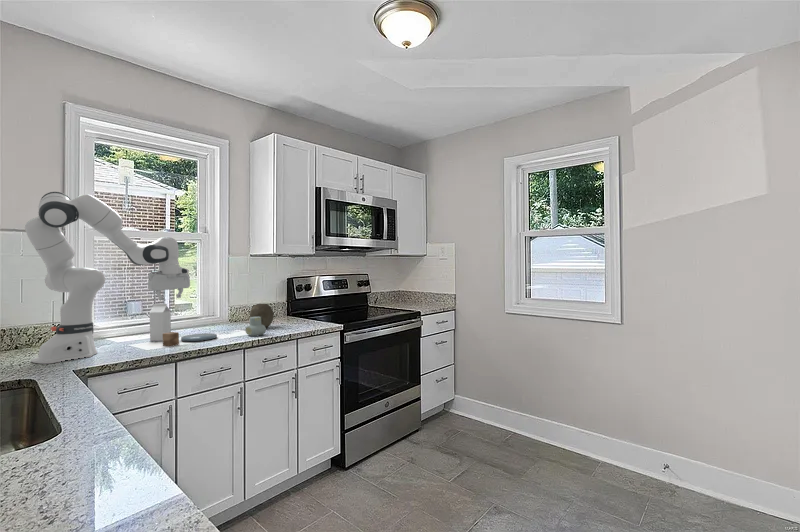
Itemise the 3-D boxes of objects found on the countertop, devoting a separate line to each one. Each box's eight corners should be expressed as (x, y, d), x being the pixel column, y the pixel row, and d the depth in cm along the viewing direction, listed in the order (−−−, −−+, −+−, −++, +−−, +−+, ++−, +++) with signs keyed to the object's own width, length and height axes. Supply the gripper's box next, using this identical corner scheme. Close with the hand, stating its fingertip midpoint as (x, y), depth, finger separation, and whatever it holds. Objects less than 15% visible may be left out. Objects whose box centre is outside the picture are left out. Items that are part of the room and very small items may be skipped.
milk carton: (163, 341, 219) (162, 304, 219) (150, 341, 220) (149, 304, 219) (171, 338, 227) (170, 303, 226) (158, 338, 227) (157, 303, 226)
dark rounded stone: (279, 327, 260) (278, 302, 260) (262, 330, 247) (262, 305, 247) (261, 325, 266) (260, 302, 266) (244, 329, 253) (243, 304, 253)
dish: (196, 343, 212) (196, 340, 212) (173, 341, 219) (173, 337, 219) (223, 337, 227) (223, 334, 227) (201, 335, 235) (201, 332, 235)
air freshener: (268, 335, 232) (267, 317, 232) (254, 337, 226) (253, 318, 225) (257, 333, 239) (257, 315, 239) (243, 335, 233) (243, 317, 233)
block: (169, 346, 205) (169, 334, 205) (162, 345, 208) (162, 333, 208) (179, 344, 210) (178, 332, 210) (172, 343, 212) (172, 331, 212)
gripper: (152, 271, 197) (153, 301, 198) (191, 269, 216) (192, 296, 216) (144, 271, 200) (145, 300, 201) (183, 269, 219) (184, 296, 219)
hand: (170, 298), depth 209 cm, fingers open, 8 cm apart
